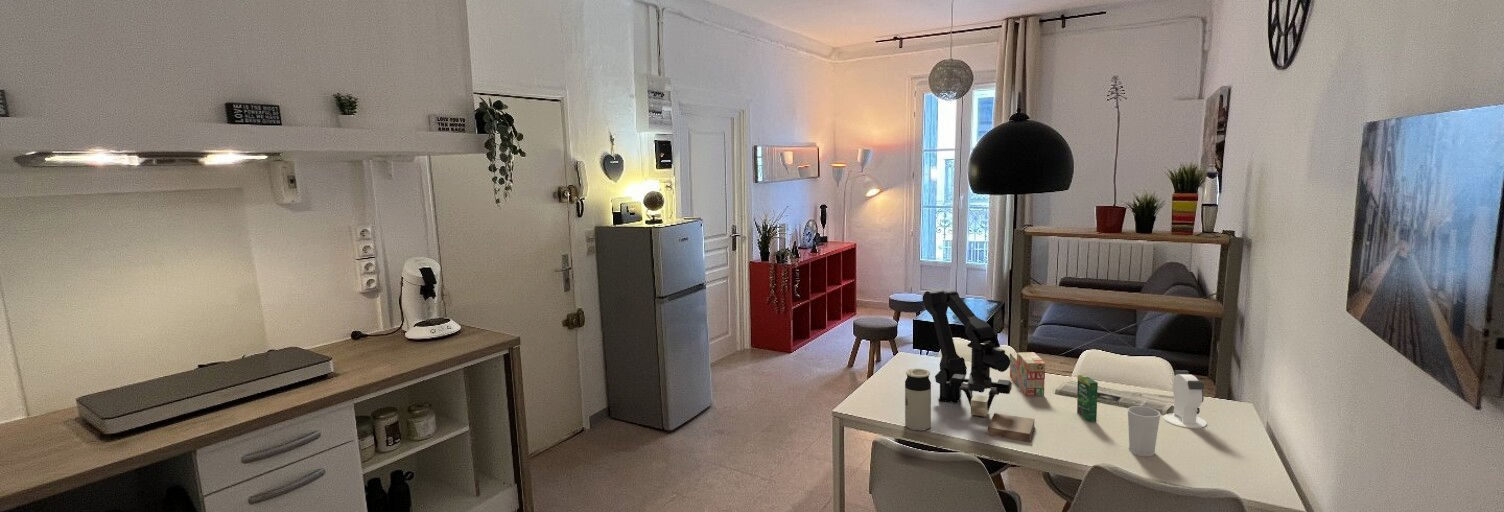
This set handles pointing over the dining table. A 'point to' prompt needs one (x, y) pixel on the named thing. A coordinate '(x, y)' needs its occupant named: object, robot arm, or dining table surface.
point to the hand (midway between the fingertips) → (979, 408)
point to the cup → (1143, 430)
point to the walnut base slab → (1011, 427)
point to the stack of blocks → (1028, 372)
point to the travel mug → (918, 399)
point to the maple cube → (979, 405)
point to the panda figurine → (1186, 401)
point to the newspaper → (1122, 397)
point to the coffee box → (1087, 398)
